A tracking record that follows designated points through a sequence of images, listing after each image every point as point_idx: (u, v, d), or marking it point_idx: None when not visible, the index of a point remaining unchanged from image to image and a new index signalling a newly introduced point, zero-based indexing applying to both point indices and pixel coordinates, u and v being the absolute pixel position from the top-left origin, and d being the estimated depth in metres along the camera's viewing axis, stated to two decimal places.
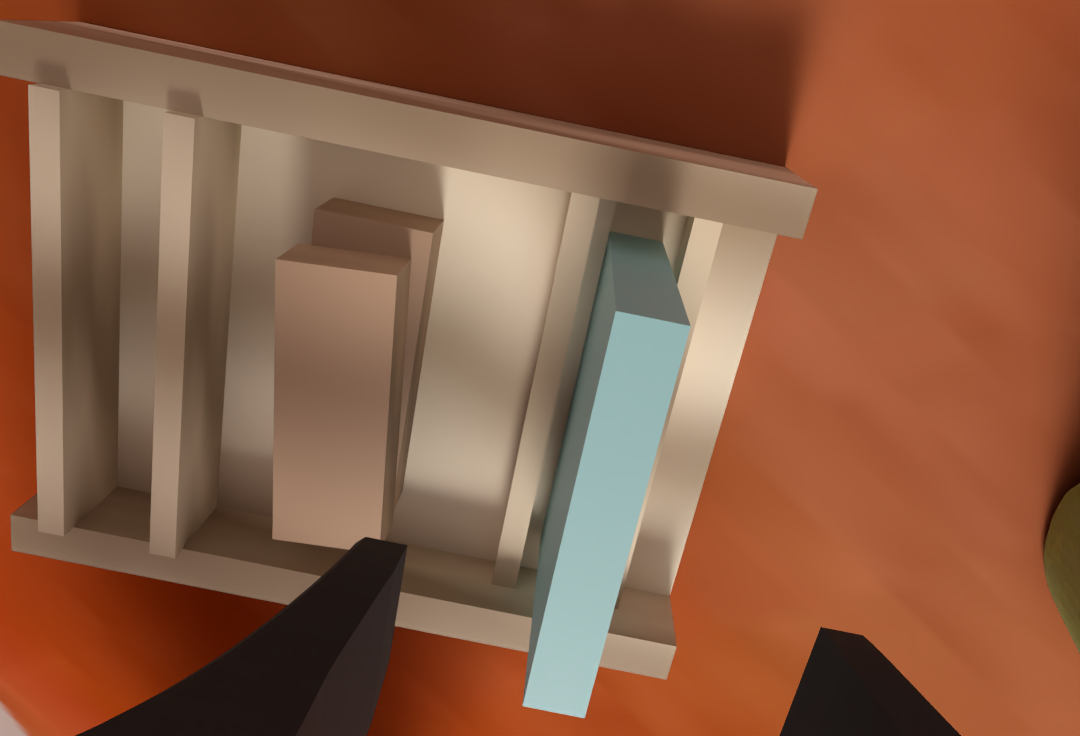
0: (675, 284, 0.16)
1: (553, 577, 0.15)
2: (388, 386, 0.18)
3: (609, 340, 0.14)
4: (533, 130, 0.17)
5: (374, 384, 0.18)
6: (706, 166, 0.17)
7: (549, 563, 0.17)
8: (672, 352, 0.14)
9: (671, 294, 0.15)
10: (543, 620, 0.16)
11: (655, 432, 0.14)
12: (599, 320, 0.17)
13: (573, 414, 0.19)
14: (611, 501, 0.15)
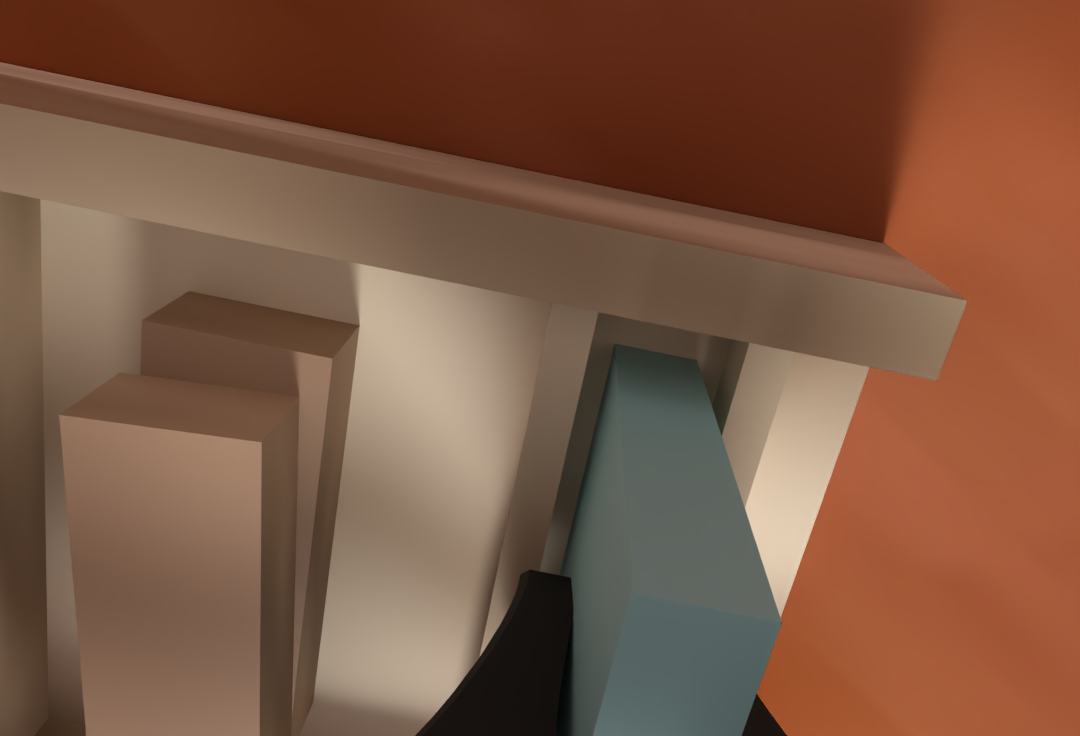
0: (732, 476, 0.09)
1: None
2: (258, 609, 0.11)
3: (618, 641, 0.07)
4: (488, 202, 0.10)
5: (235, 606, 0.11)
6: (779, 262, 0.10)
7: None
8: (744, 666, 0.07)
9: (730, 512, 0.08)
10: None
11: None
12: (599, 521, 0.10)
13: None
14: None
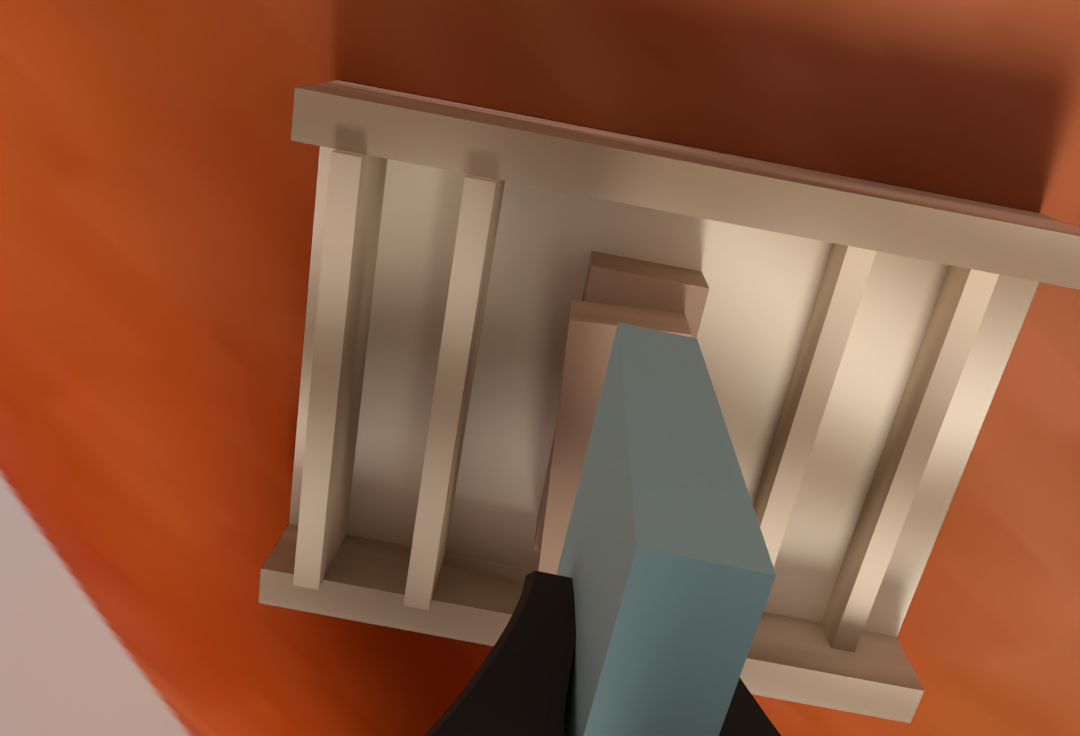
0: (730, 445, 0.10)
1: None
2: None
3: (622, 594, 0.07)
4: (830, 188, 0.17)
5: None
6: (1003, 222, 0.17)
7: None
8: (740, 617, 0.07)
9: (728, 477, 0.09)
10: None
11: None
12: (603, 489, 0.10)
13: None
14: None
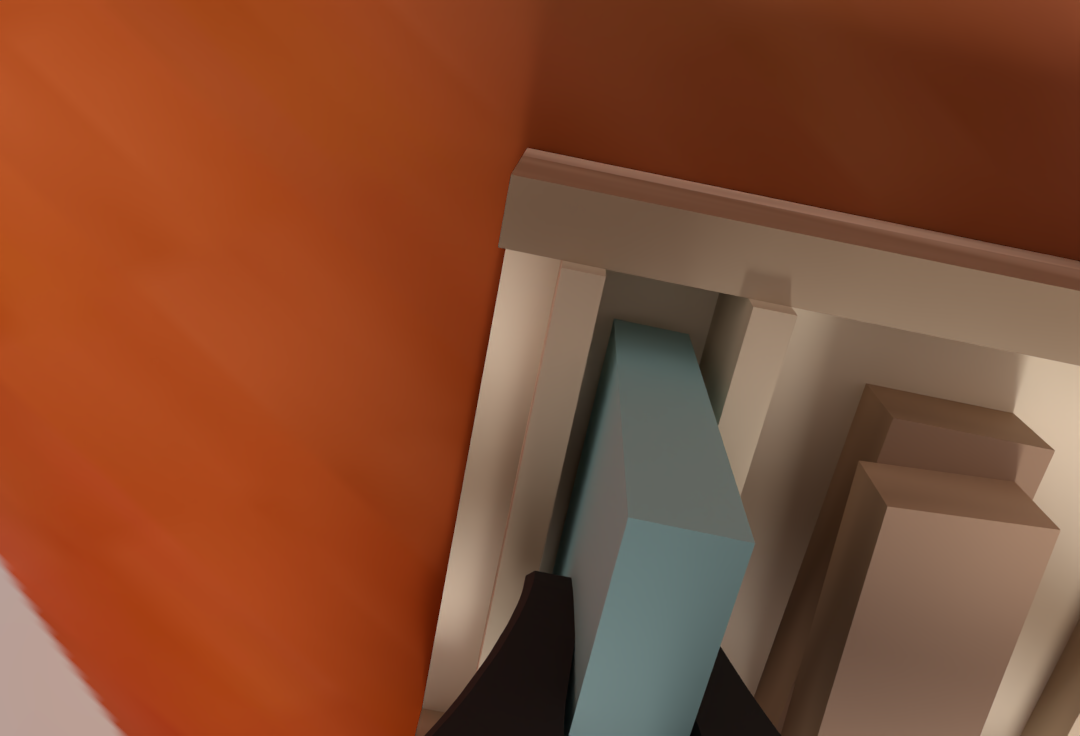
0: (717, 430, 0.10)
1: None
2: (1004, 666, 0.13)
3: (616, 561, 0.08)
4: None
5: (984, 663, 0.13)
6: None
7: None
8: (723, 582, 0.08)
9: (714, 458, 0.10)
10: None
11: (690, 699, 0.09)
12: (599, 472, 0.11)
13: None
14: None
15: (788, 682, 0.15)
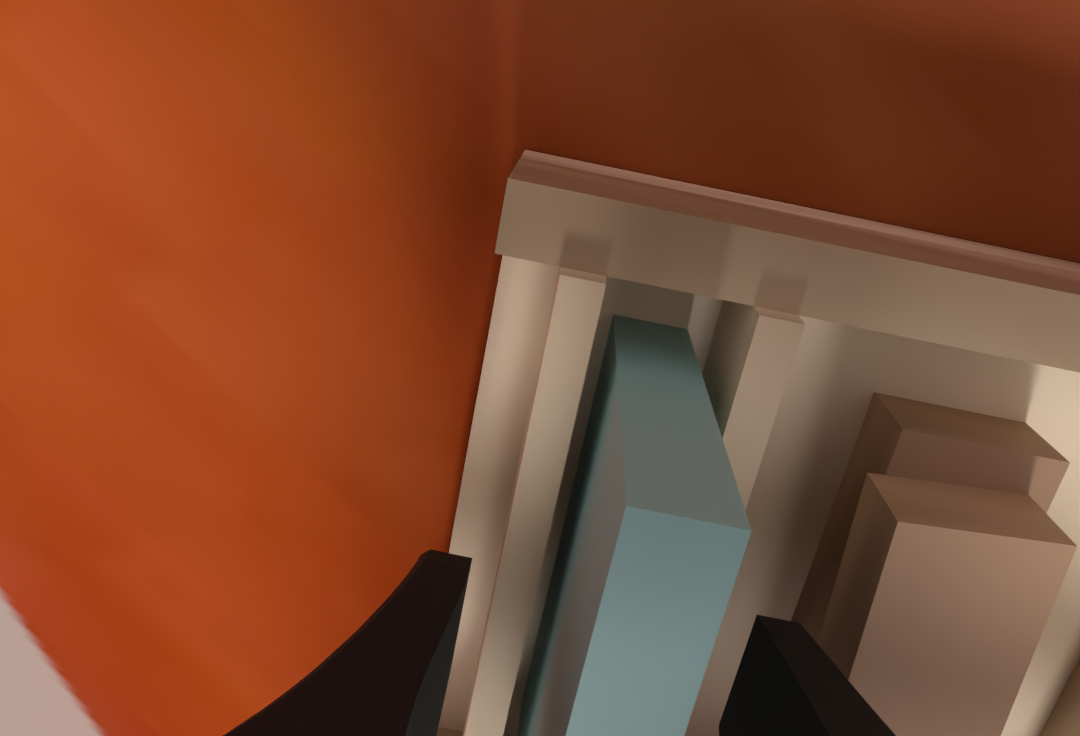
0: (715, 422, 0.10)
1: None
2: (1017, 686, 0.12)
3: (614, 549, 0.08)
4: None
5: (997, 683, 0.12)
6: None
7: None
8: (720, 569, 0.08)
9: (712, 448, 0.10)
10: None
11: (689, 686, 0.09)
12: (599, 465, 0.11)
13: (562, 575, 0.13)
14: None
15: None
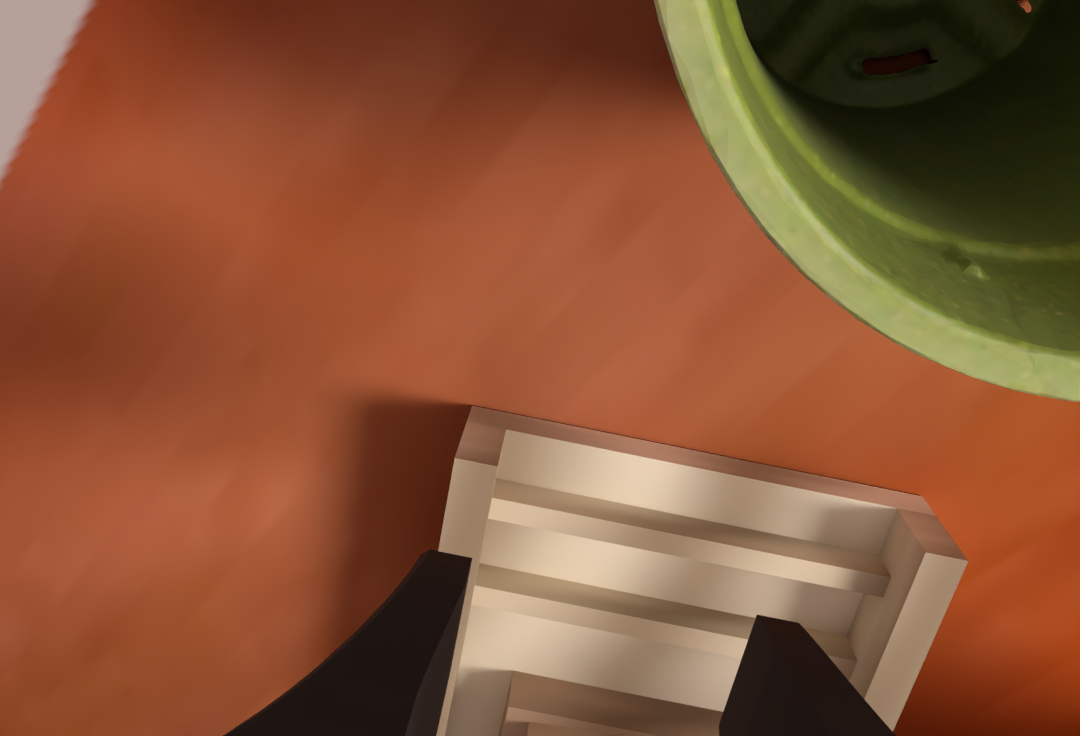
0: None
1: None
2: None
3: None
4: None
5: None
6: (441, 537, 0.21)
7: None
8: None
9: None
10: None
11: None
12: None
13: None
14: None
15: None
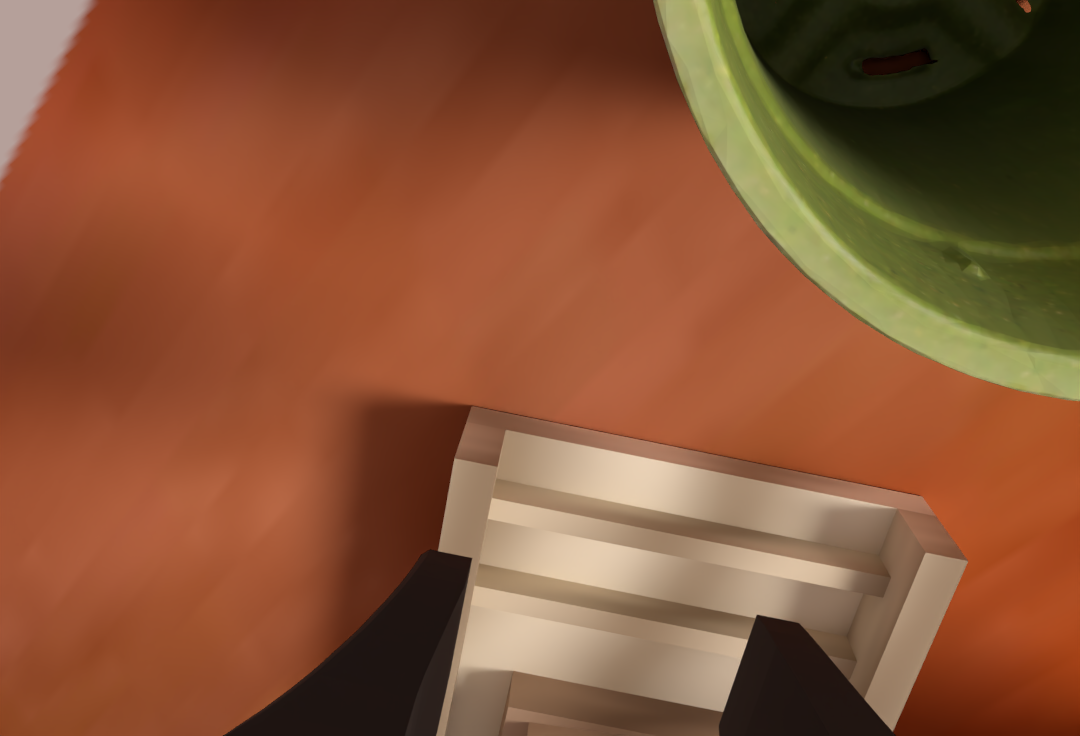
0: None
1: None
2: None
3: None
4: None
5: None
6: (440, 538, 0.21)
7: None
8: None
9: None
10: None
11: None
12: None
13: None
14: None
15: None
